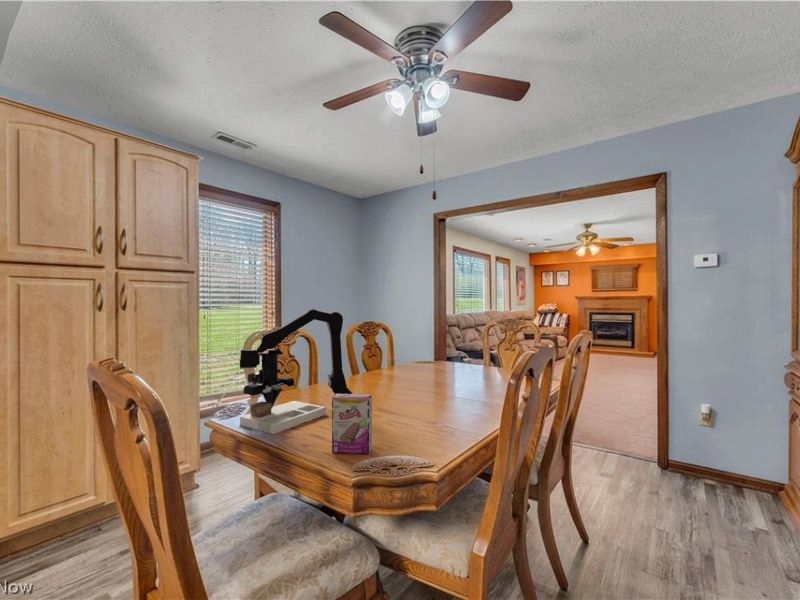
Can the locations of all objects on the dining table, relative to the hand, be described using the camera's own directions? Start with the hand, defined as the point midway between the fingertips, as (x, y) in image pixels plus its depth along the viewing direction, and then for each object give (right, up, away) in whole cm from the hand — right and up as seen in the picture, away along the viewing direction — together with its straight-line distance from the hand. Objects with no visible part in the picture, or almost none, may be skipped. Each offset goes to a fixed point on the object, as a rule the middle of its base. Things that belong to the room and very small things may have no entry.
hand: (270, 408), depth 142 cm
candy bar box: (+34, -4, -30) cm, 46 cm away
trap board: (+5, -4, 0) cm, 7 cm away
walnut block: (-2, -1, -4) cm, 4 cm away
